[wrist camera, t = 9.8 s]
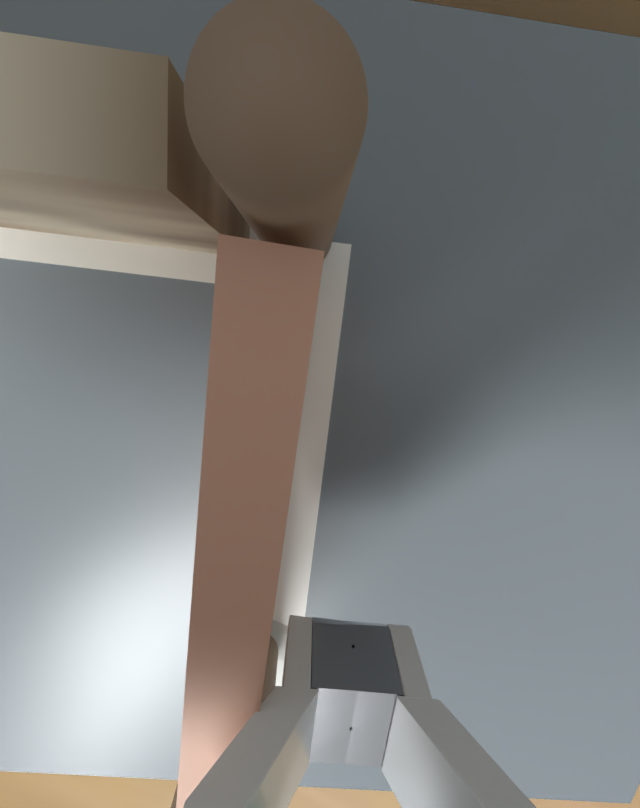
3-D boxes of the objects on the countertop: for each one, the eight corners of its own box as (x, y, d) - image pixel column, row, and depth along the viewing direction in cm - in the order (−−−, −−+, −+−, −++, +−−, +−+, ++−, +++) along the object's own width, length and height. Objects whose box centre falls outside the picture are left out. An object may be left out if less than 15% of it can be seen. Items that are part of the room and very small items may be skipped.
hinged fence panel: (260, 191, 8) (163, -34, 3) (345, 206, 9) (407, 15, 3) (213, 672, 12) (128, 986, 6) (274, 678, 12) (243, 990, 6)
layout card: (-159, 745, 13) (-179, 763, 13) (-403, -111, 7) (-458, -143, 7) (619, 787, 15) (631, 805, 14) (925, 101, 9) (964, 88, 8)
